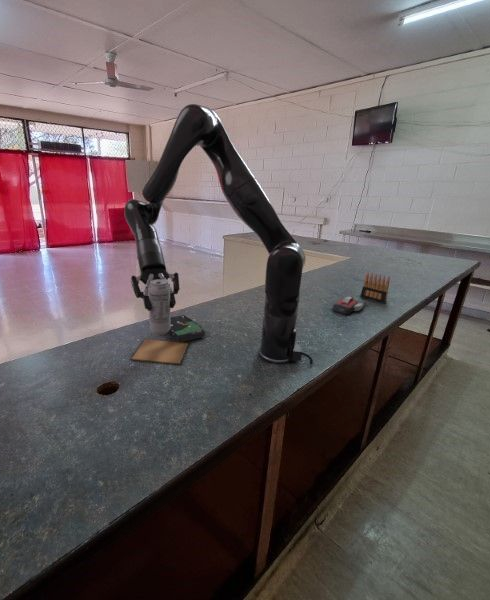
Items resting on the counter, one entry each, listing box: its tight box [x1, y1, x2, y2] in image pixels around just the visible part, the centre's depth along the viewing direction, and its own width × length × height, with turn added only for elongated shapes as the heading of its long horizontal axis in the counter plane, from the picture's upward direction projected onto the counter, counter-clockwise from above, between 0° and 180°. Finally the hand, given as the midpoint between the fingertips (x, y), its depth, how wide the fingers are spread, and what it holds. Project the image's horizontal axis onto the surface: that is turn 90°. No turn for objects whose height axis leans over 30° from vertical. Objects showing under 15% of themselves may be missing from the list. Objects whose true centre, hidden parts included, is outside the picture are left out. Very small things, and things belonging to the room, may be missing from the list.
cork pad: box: [131, 338, 189, 365], centre depth 94 cm, size 14×12×1 cm
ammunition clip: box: [359, 271, 391, 304], centre depth 141 cm, size 11×2×12 cm, turn 42°
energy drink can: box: [148, 279, 171, 335], centre depth 90 cm, size 6×6×15 cm
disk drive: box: [166, 314, 206, 343], centre depth 107 cm, size 10×3×15 cm
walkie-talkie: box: [332, 295, 369, 315], centre depth 132 cm, size 9×4×20 cm
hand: (161, 308), depth 88 cm, fingers closed on energy drink can, 6 cm apart
